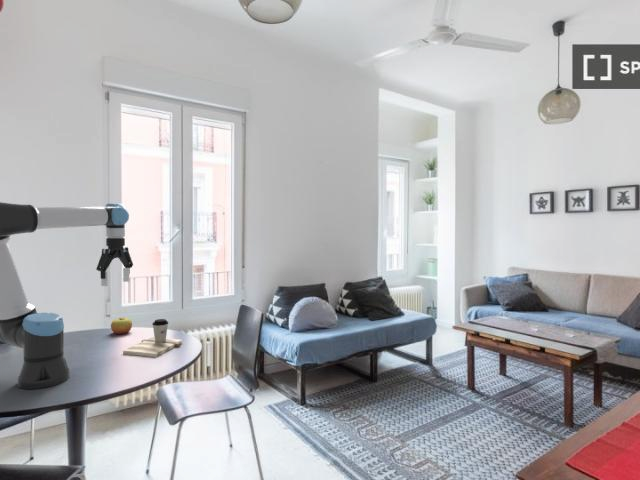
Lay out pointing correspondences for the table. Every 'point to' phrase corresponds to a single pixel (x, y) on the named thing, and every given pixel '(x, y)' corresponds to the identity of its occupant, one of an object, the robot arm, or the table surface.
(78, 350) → the table surface
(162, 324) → the coffee cup
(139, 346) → the subfloor panel
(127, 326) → the apple
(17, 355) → the table surface
